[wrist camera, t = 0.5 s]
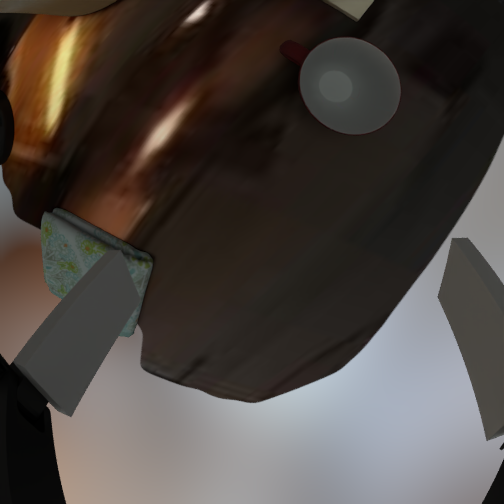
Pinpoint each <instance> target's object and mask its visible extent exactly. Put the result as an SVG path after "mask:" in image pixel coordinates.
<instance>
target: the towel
mask: <svg viewBox="0 0 504 504" xmlns="http://www.w3.org/2000/svg"><path fill="white" fill-rule="evenodd" d="M41 244H42V258H43V268H44V279H45V282H46V283H47V285H48V287H49V290H50V291H51V292H52V293H53V294H54V295H56V296H58V297H59V298H61V299H63V298H64V297H65V296H66V295H67V294H68V292H69V291H70V290H71V289H72V288H73V287H74V286H75V285H76V283H77V282H78V281H79V280H80V279H81V278H82V277H83V276H84V275H85V274H86V273H87V272H88V271H89V269H90V268H91V267H92V266H93V265H94V264H95V263H96V262H97V261H98V260H99V259H100V258H101V257H102V256H103V255H104V254H105V253H106V252H107V251H108V250H121V251H122V254H123V257H124V259H125V262H126V264H127V267H128V269H129V272H130V274H131V277H132V279H133V282H134V284H135V287H136V289H137V291H138V294H139V296H140V298H141V302H140V303H139V305H138V306H137V308H136V309H135V311H134V312H133V314H132V316H131V317H130V319H129V320H128V322H127V323H126V325H125V326H124V328H123V330H122V331H121V333H120V334H119V336H125V337H130V336H131V335H133V334H134V330H135V328H136V325H137V322H138V318H139V314H140V310H141V306H142V302H143V298H144V294H145V291H146V288H147V284H148V281H149V278H150V274H151V271H152V267H153V259H152V258H151V256H150V255H149V254H148V253H146V252H142V251H139V250H137V249H135V248H134V247H132V246H131V245H130V244H128V243H126V242H124V241H122V240H120V239H118V238H116V237H114V236H112V235H111V234H109V233H107V232H105V231H103V230H101V229H100V228H97V227H96V226H94V225H92V224H90V223H88V222H86V221H85V220H83V219H81V218H79V217H77V216H76V215H74V214H72V213H70V212H68V211H66V210H64V209H60V208H55V209H54V210H53V212H52V213H48V212H46V211H45V212H44V215H43V217H42V222H41Z"/></svg>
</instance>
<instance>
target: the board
mask: <svg viewBox="0 0 504 504" xmlns="http://www.w3.org/2000/svg"><path fill="white" fill-rule="evenodd" d="M322 1H323V2H325V3H327V4H329V5H330V6H332V7H334V8H335V9H337V10H339V11H340V12H342V13H344V14H345V15H347V16H348V17H350V18H351V19H353V20H355V21H356V22H357V21H358V20H359V19H360V18H361V16H362V15H363V14H364V12H365V11H366V10H367V9H368V7H369V6H370V5H371V4H372V2H373V1H374V0H322Z"/></svg>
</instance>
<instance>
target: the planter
mask: <svg viewBox="0 0 504 504" xmlns="http://www.w3.org/2000/svg"><path fill="white" fill-rule="evenodd" d="M116 1H117V0H0V13H35V14H48V15H59V16H80V15H85V14H89V13H92V12H95V11H98V10H100V9H102V8H105V7H107V6H108V5H110V4H112V3H114V2H116Z"/></svg>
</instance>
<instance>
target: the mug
mask: <svg viewBox="0 0 504 504" xmlns="http://www.w3.org/2000/svg"><path fill="white" fill-rule="evenodd" d="M280 52H281V53H282V54H283V55H284V56H285V57H286V58H288V59H289V60H291V61H292V62H294V63H296V64H297V65H299V66H300V70H299V75H298V88H299V93H300V97H301V99H302V101H303V104H304V105H305V107H306V109H307V110H308V111H309V113H310V114H311V115H312V116H313V117H314V118H315V119H316V120H317V121H318V122H319V123H321V124H322V125H323V126H325V127H327V128H328V129H330V130H332V131H335V132H338V133H341V134H345V135H365V134H369V133H372V132H375V131H377V130H379V129H381V128H382V127H384V126H385V125H386V124H387V123H388V122H389V121H390V120H391V119H392V118H393V117H394V115H395V113H396V112H397V110H398V107H399V104H400V100H401V82H400V77H399V74H398V72H397V69H396V68H395V66H394V64H393V62H392V61H391V60H390V58H389V57H388V56H387V55H386V54H385V53H384V52H383V51H382V50H381V49H379V48H378V47H377V46H375V45H373V44H372V43H370V42H367V41H365V40H362V39H359V38H354V37H336V38H331V39H328V40H326V41H323V42H321V43H320V44H318V45H317V46H315V47H314V48H313V49H312V50H311V51H310V50H308V49H307V48H305V47H303V46H302V45H300V44H298V43H296V42H294V41H291V40H287V41H285V42H284V43H283V44H282V45H281V46H280Z"/></svg>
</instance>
